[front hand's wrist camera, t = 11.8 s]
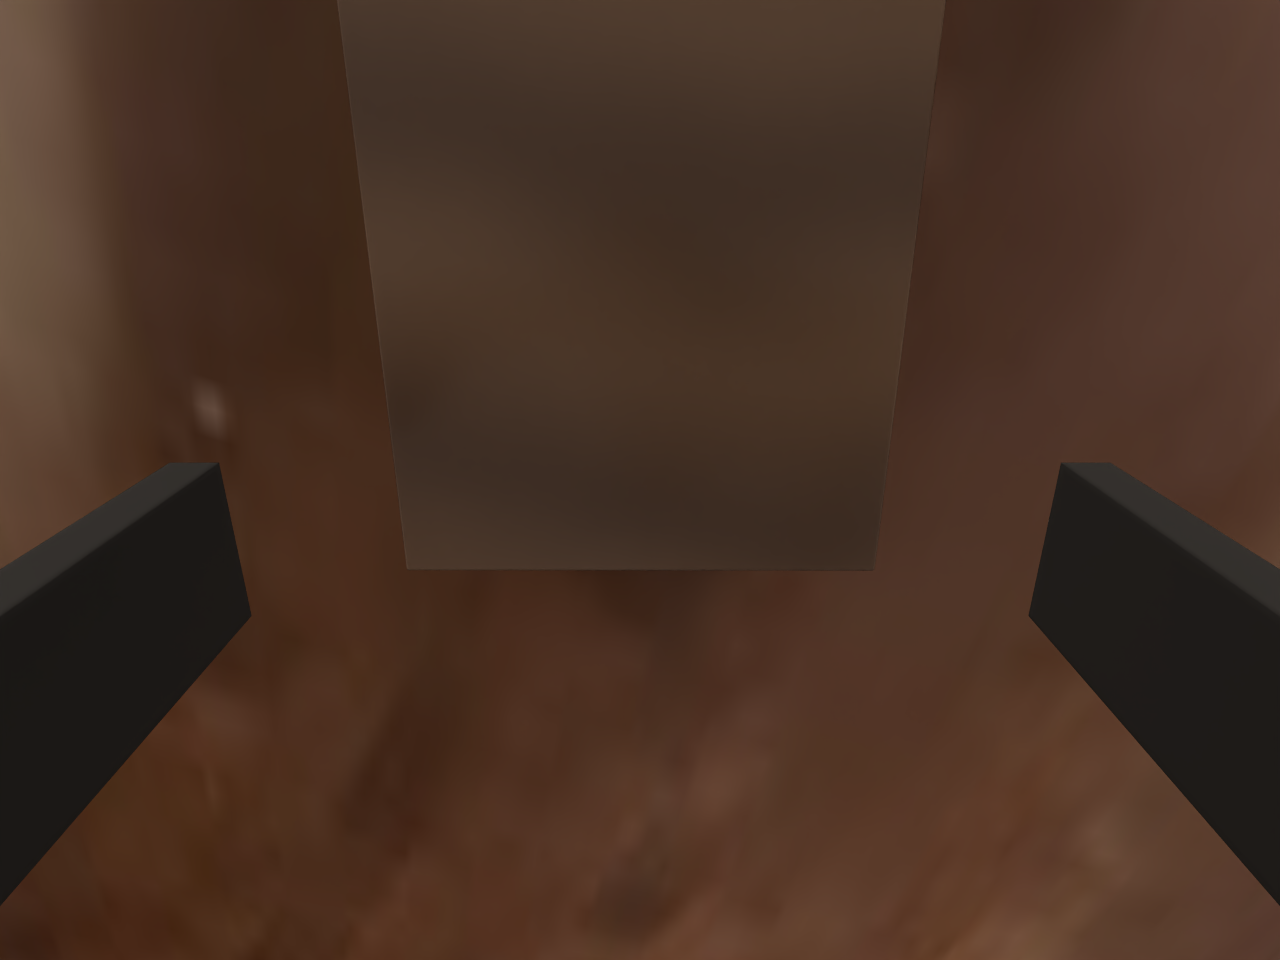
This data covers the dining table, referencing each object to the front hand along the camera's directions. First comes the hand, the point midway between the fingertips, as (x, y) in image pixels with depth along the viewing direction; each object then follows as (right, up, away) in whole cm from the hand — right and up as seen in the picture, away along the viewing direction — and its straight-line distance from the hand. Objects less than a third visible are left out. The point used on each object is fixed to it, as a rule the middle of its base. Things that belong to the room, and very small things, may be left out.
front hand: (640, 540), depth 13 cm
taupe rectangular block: (0, +11, +11) cm, 16 cm away
